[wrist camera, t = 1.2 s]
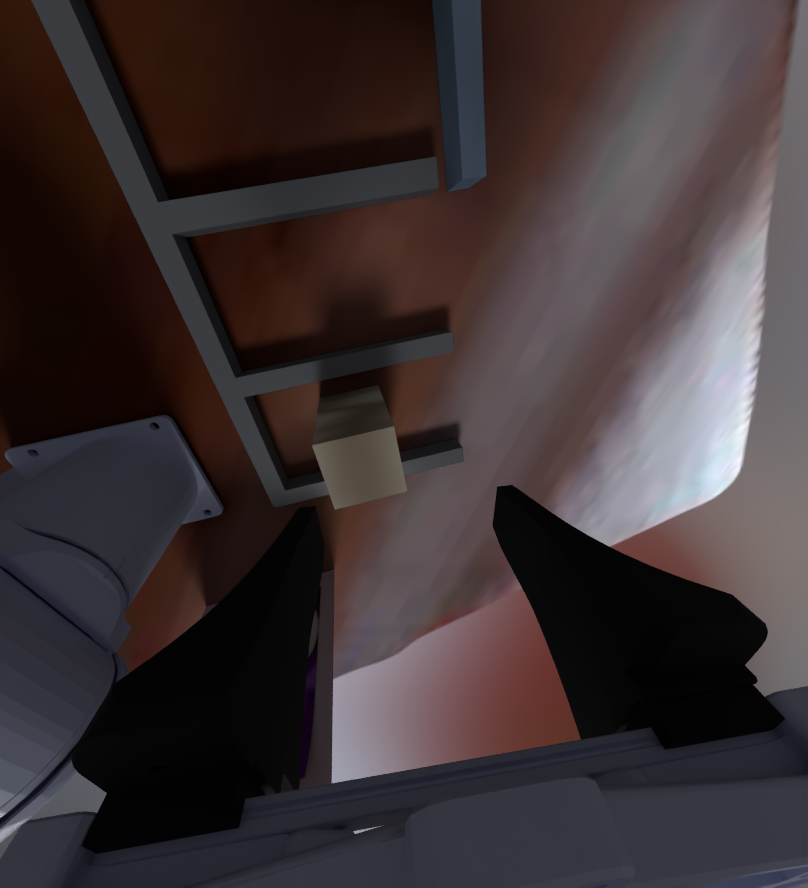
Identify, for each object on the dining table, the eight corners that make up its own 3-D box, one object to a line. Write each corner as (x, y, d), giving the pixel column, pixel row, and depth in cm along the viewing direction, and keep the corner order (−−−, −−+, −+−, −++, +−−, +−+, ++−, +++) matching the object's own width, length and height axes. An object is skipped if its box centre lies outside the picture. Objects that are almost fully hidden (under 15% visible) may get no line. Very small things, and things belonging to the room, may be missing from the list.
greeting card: (331, 563, 28) (325, 812, 15) (354, 612, 32) (365, 848, 18) (201, 600, 27) (74, 897, 14) (239, 647, 31) (166, 918, 18)
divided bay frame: (277, 495, 24) (271, 516, 22) (21, -62, 11) (-49, -139, 9) (482, 445, 25) (495, 460, 23) (452, -103, 13) (475, -179, 11)
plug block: (335, 448, 23) (334, 509, 17) (319, 397, 21) (312, 445, 15) (389, 436, 23) (407, 491, 17) (378, 384, 21) (393, 426, 15)
